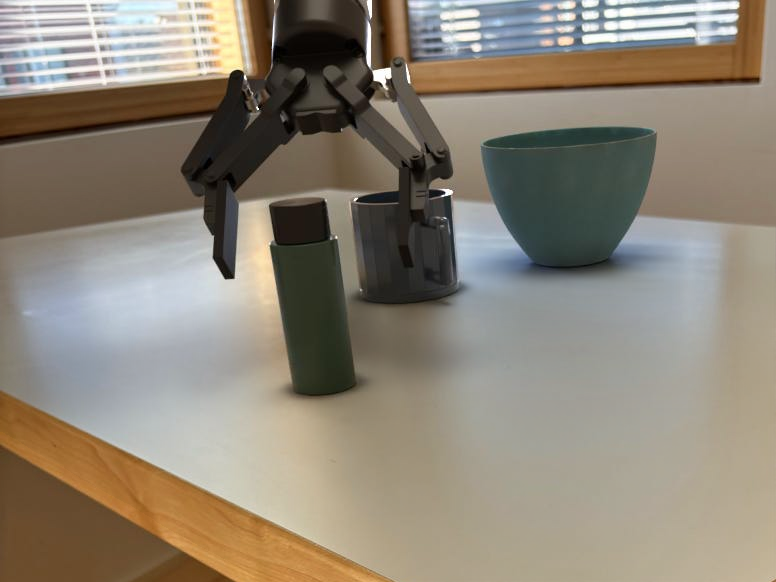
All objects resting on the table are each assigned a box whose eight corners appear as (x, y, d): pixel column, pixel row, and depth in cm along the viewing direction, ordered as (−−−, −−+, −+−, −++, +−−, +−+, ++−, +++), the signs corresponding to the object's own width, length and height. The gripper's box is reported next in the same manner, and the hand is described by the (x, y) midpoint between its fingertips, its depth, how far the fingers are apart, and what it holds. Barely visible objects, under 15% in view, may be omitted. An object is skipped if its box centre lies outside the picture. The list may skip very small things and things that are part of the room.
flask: (283, 385, 79) (252, 203, 72) (340, 372, 81) (315, 194, 74) (307, 399, 75) (277, 209, 69) (366, 385, 77) (343, 199, 71)
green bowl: (675, 267, 106) (678, 134, 99) (499, 284, 104) (492, 151, 98) (631, 238, 121) (632, 122, 115) (478, 252, 120) (471, 136, 114)
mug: (344, 292, 106) (332, 198, 102) (429, 276, 110) (421, 185, 106) (405, 314, 96) (394, 211, 91) (496, 295, 100) (490, 196, 96)
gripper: (485, 48, 83) (488, 281, 78) (185, 73, 85) (169, 301, 80) (476, -33, 76) (478, 218, 70) (149, -3, 78) (127, 242, 73)
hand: (314, 263), depth 75 cm, fingers open, 13 cm apart
